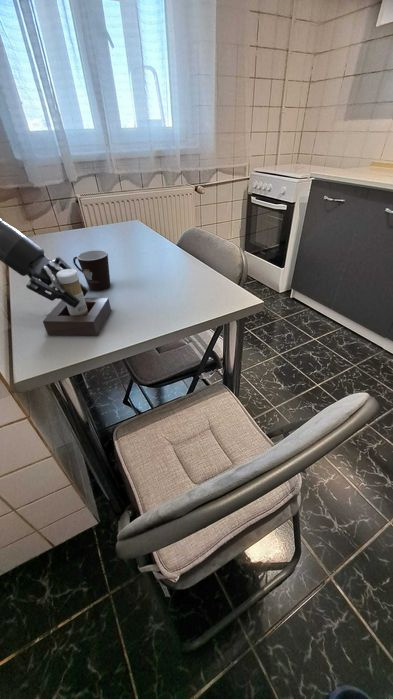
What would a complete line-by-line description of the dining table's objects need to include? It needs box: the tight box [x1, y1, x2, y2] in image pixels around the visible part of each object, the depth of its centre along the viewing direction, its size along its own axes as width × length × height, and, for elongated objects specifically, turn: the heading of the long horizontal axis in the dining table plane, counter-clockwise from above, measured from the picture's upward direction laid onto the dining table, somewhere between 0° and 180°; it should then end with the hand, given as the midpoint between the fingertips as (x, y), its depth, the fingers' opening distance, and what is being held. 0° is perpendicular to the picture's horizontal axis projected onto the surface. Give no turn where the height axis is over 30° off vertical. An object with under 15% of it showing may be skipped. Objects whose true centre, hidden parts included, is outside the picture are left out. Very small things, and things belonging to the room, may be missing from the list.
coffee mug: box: [72, 249, 111, 292], centre depth 89 cm, size 12×9×10 cm
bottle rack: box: [42, 297, 112, 337], centre depth 73 cm, size 12×12×4 cm
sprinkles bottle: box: [56, 268, 88, 316], centre depth 71 cm, size 5×5×14 cm
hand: (81, 298), depth 71 cm, fingers open, 5 cm apart
